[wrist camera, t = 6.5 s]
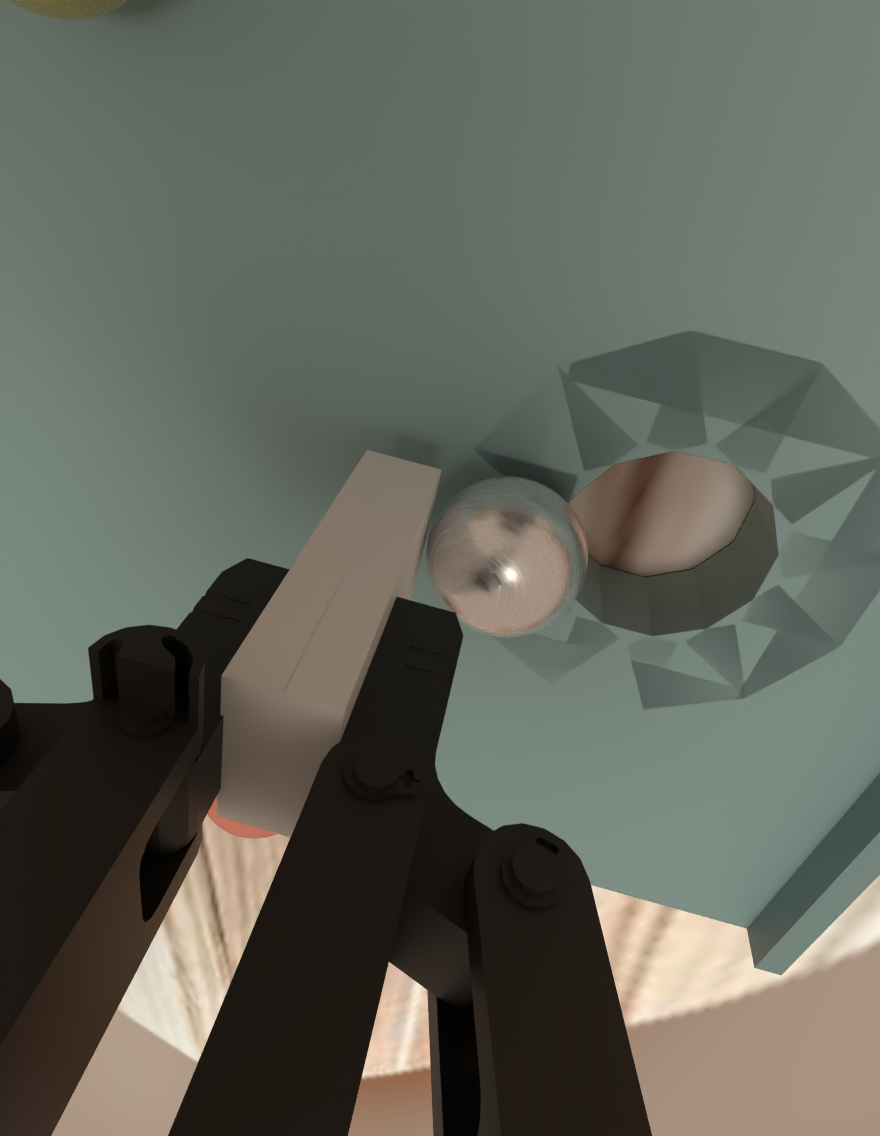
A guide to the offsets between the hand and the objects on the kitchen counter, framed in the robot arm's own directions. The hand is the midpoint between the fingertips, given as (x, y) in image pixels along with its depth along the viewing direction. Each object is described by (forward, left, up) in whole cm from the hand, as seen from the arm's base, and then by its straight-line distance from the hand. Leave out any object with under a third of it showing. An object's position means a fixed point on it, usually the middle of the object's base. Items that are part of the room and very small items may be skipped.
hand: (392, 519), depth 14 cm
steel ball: (0, +2, 0) cm, 2 cm away
